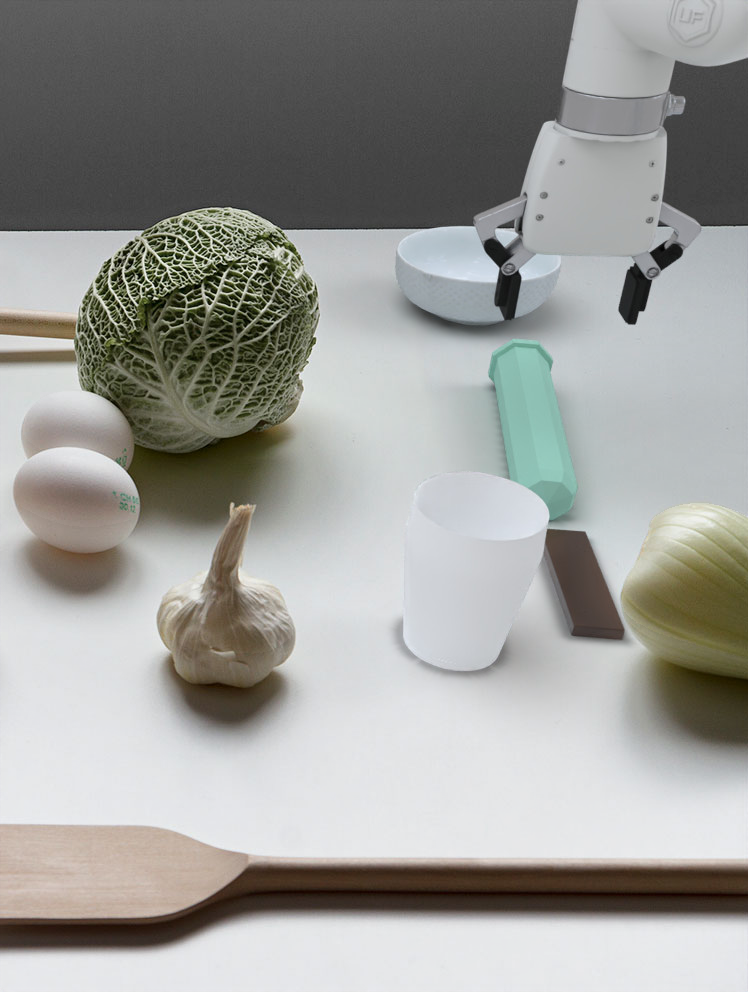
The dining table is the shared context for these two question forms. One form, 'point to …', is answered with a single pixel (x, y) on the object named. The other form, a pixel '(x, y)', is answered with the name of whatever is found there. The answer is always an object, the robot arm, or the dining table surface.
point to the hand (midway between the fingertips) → (565, 316)
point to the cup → (468, 566)
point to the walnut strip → (581, 585)
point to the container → (533, 423)
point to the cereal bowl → (466, 275)
